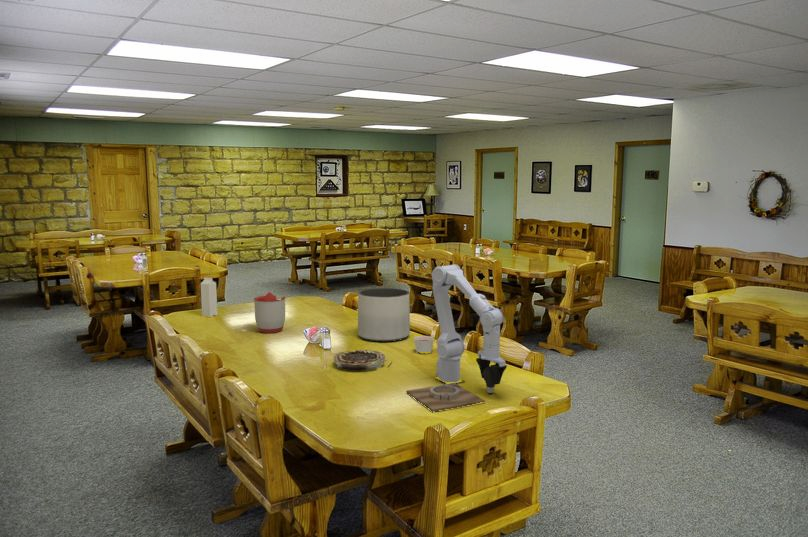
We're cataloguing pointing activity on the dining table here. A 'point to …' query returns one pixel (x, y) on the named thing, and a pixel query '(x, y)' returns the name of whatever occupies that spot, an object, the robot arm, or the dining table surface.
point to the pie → (359, 360)
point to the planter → (383, 314)
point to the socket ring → (444, 397)
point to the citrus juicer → (269, 313)
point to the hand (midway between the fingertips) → (490, 380)
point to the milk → (208, 297)
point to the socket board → (436, 405)
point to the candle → (423, 343)
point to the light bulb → (489, 379)
